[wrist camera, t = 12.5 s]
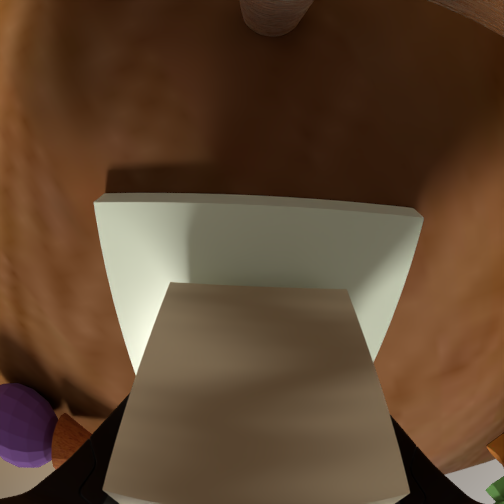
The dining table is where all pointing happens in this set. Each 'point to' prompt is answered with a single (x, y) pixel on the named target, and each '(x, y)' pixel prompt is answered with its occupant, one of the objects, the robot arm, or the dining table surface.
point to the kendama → (35, 429)
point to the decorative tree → (500, 449)
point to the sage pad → (253, 251)
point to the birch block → (256, 404)
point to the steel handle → (297, 3)
